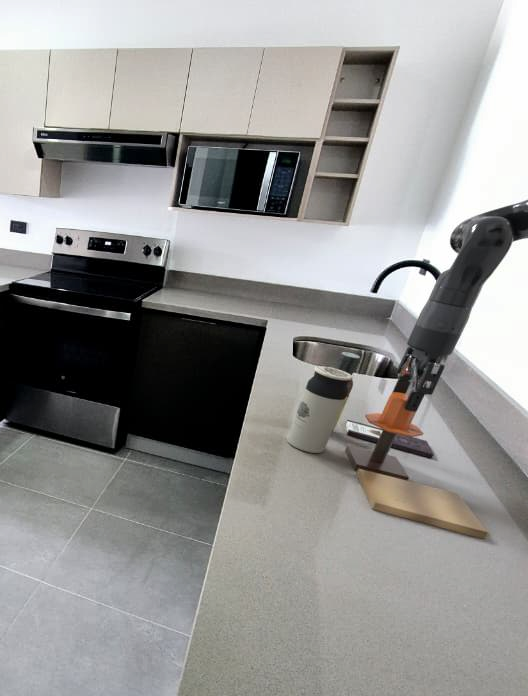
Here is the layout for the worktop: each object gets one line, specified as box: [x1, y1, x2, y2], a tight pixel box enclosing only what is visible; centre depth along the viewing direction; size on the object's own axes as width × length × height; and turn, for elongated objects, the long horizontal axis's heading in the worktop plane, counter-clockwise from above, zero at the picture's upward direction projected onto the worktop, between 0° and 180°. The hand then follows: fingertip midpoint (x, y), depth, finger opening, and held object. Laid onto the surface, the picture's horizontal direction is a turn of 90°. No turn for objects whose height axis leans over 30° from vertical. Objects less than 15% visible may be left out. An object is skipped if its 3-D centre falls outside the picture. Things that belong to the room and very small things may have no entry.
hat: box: [364, 391, 424, 438], centre depth 104 cm, size 10×10×6 cm
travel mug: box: [286, 365, 353, 454], centre depth 111 cm, size 8×8×18 cm
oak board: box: [355, 469, 489, 540], centre depth 96 cm, size 18×14×2 cm
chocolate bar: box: [345, 419, 434, 459], centre depth 124 cm, size 9×1×18 cm
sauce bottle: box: [331, 351, 361, 434], centre depth 121 cm, size 7×6×20 cm
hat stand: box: [344, 430, 410, 481], centre depth 106 cm, size 10×10×16 cm
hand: (403, 403), depth 103 cm, fingers open, 8 cm apart
